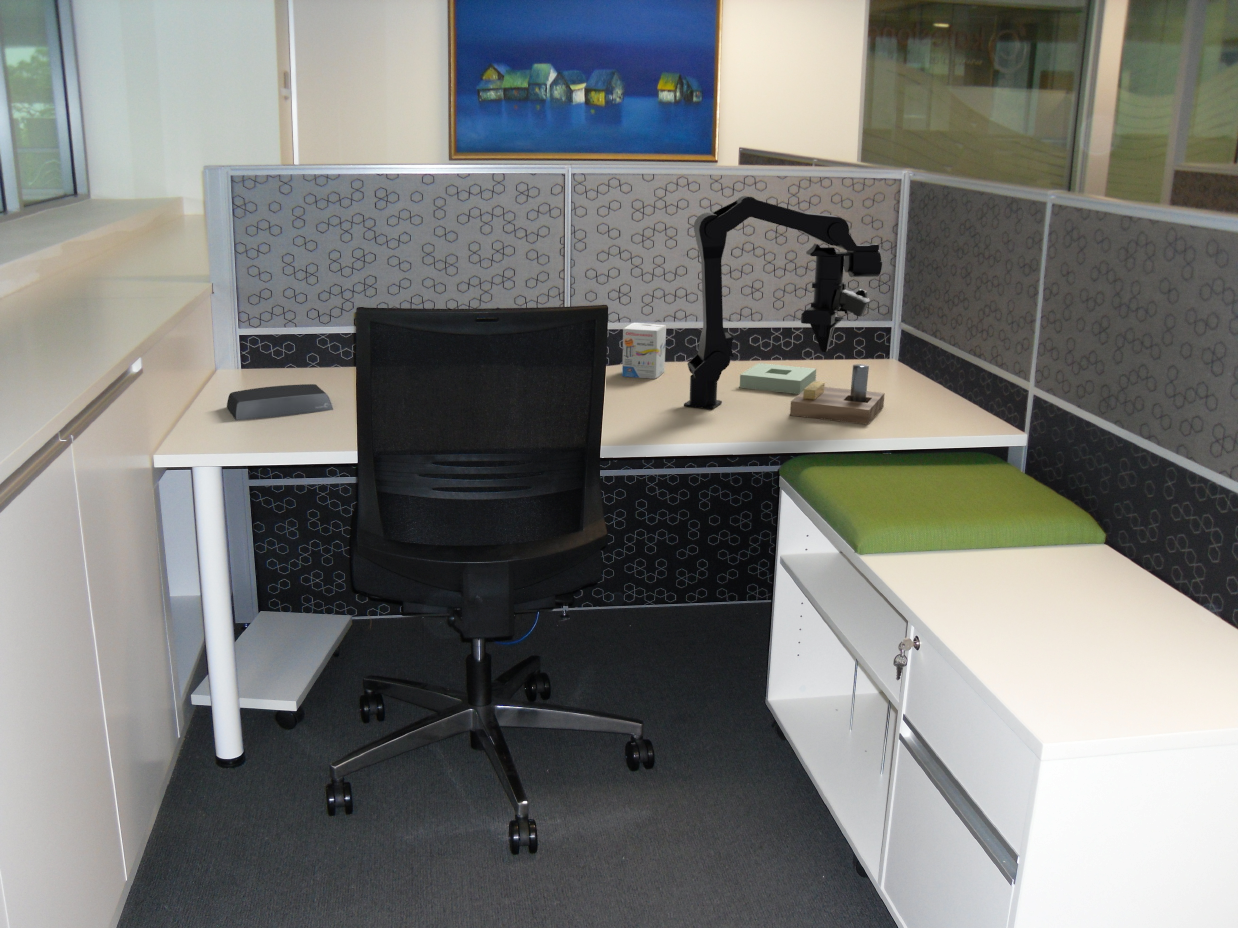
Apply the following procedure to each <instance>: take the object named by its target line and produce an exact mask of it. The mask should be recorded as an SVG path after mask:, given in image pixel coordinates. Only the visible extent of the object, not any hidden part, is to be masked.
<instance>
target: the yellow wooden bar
mask: <svg viewBox="0 0 1238 928" xmlns="http://www.w3.org/2000/svg"><path fill="white" fill-rule="evenodd" d="M825 383H826V382H825V381H817V380H816V381H813V382H812V383H811V384H809V385H808V386H807V387H806V388H805V389H804V394H803V399H812V400H815V399H816V398H817V397H818V396H820V395H821V394H822V393H823V392H824V387H825V385H826V384H825Z"/></svg>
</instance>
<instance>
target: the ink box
mask: <svg viewBox="0 0 1238 928" xmlns="http://www.w3.org/2000/svg"><path fill="white" fill-rule="evenodd" d="M666 338H667V325H666V324H653V323H646V322H645V323H643V322H632V323H630V324H628V325H627V326H625V327H623V328H622V371H621V372H622V374H621V375H622V377H623V378H624V377H626V378H640V379H651V380H653V379H654V380H656V379H658V377H660V376H662V374H663V373H664V372H665V368H666V366H665V365H666V363H665V362H666Z"/></svg>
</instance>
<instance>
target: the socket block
mask: <svg viewBox="0 0 1238 928" xmlns="http://www.w3.org/2000/svg"><path fill="white" fill-rule="evenodd" d="M803 394H804V391H803V392H801V393H800V394H798V395H797V396H796V397H794V398H793V399H791V400H790V409H789V413H790V414H789V416H792V417H802V418H811V419H818V420H827V421H834V420H835V422H843V423H853V424H861V425H869V424H870V423H871V422H872V421H873V419H875V417H876V416H877V415H878V414H879V413H880V411H881V410H882V409H883V408H884V405H885V404H884V403H885V395H886V394H885V392H880V391H871V390H867V392H866V403H863V402H854V401H850V394H851V388H843V387H842V388H841V387H835V386H833V387H831V386H824V392H823V393H822V394H821V395H820V396H818V397H817V398H816V399H815V400H812V399H803ZM882 407H883V408H882Z"/></svg>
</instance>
